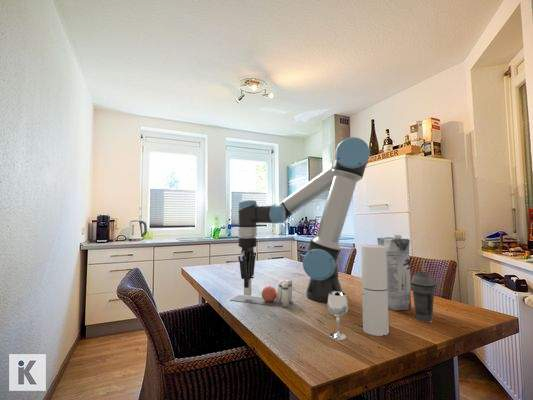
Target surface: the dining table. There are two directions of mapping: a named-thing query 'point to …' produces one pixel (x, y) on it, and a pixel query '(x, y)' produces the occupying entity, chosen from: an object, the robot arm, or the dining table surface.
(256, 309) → the dining table surface
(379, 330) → the cylindrical container
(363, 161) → the robot arm
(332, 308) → the wineglass
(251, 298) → the grey flat board
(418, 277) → the beverage cup
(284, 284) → the pin back left
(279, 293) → the pin front
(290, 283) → the pin back right
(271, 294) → the ball
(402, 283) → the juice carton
